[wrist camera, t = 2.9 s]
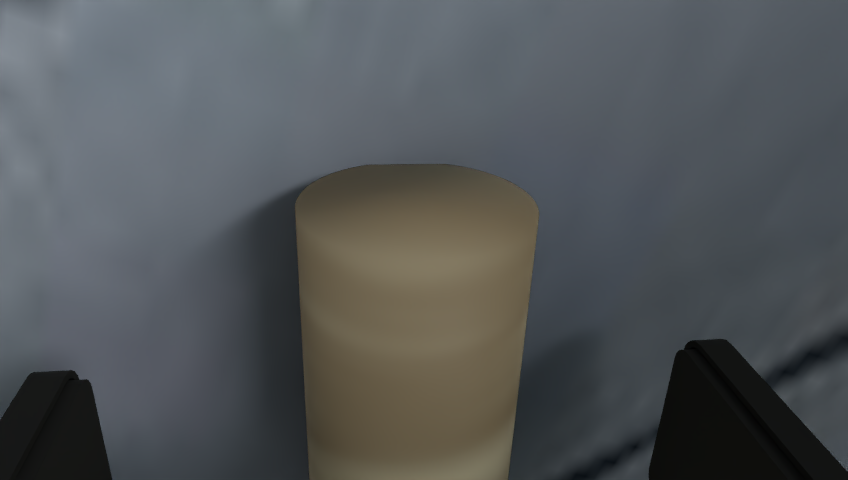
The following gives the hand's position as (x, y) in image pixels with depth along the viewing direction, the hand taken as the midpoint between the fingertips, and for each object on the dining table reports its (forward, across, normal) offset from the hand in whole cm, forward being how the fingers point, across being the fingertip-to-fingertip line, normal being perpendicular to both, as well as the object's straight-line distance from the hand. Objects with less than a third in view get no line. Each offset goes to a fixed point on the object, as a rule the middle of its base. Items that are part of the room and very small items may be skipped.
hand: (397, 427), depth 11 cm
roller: (+1, 0, 0) cm, 1 cm away
